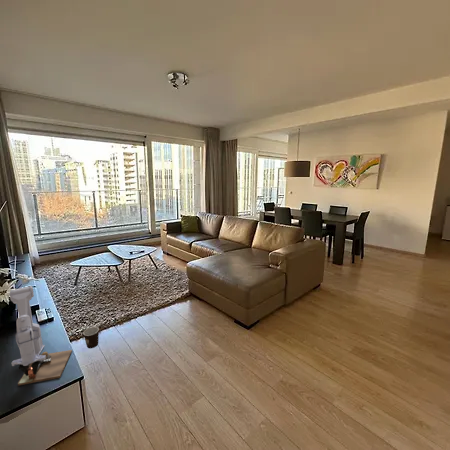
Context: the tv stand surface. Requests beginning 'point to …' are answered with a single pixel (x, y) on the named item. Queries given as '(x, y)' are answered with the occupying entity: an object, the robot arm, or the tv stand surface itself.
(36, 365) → the robot arm
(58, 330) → the tv stand surface
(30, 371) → the lever
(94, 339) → the coffee mug
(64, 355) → the light wood flat board
